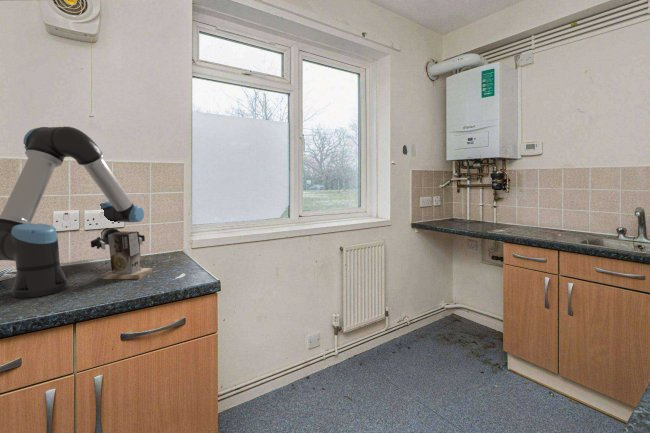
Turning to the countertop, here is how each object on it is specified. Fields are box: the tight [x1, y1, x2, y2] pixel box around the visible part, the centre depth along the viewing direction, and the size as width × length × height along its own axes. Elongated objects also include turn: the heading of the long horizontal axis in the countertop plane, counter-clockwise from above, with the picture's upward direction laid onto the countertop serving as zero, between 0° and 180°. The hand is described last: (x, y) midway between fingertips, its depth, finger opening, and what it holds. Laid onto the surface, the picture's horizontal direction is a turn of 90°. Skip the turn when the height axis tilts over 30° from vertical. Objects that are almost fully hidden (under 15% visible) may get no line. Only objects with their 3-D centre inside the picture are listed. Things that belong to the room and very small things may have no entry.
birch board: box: [100, 267, 153, 280], centre depth 137 cm, size 15×10×2 cm, turn 91°
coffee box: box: [108, 230, 143, 274], centre depth 136 cm, size 9×6×16 cm
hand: (123, 243), depth 140 cm, fingers open, 13 cm apart
